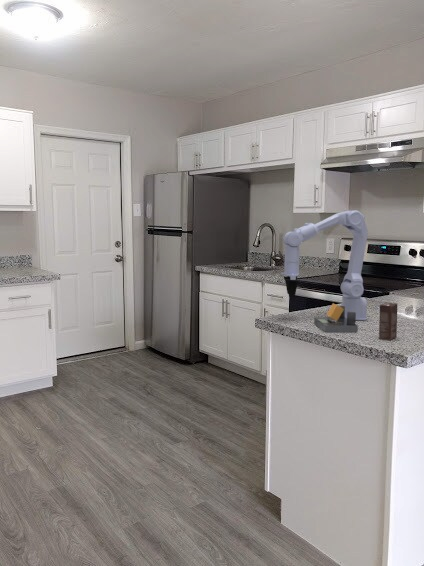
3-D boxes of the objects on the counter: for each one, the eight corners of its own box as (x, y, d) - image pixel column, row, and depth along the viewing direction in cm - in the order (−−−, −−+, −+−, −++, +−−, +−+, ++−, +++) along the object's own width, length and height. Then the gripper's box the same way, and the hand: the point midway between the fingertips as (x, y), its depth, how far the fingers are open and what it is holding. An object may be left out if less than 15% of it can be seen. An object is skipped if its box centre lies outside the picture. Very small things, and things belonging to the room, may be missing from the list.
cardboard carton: (331, 320, 187) (339, 306, 186) (335, 324, 181) (344, 309, 180) (324, 317, 186) (332, 303, 186) (328, 320, 181) (337, 305, 180)
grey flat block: (344, 323, 192) (344, 316, 192) (357, 332, 177) (357, 325, 177) (314, 323, 191) (314, 316, 191) (325, 332, 176) (325, 325, 176)
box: (384, 335, 173) (385, 302, 171) (396, 337, 170) (398, 303, 168) (377, 338, 168) (379, 304, 167) (390, 340, 165) (392, 305, 164)
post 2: (353, 323, 180) (354, 311, 179) (356, 325, 177) (357, 313, 176) (345, 323, 179) (346, 311, 179) (348, 325, 177) (348, 313, 176)
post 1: (343, 316, 192) (343, 305, 191) (345, 318, 189) (346, 307, 188) (335, 316, 191) (336, 305, 191) (338, 318, 188) (338, 307, 188)
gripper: (280, 260, 202) (279, 292, 204) (283, 263, 187) (282, 298, 189) (297, 260, 201) (296, 292, 203) (301, 263, 187) (300, 298, 189)
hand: (290, 295), depth 196 cm, fingers open, 7 cm apart
